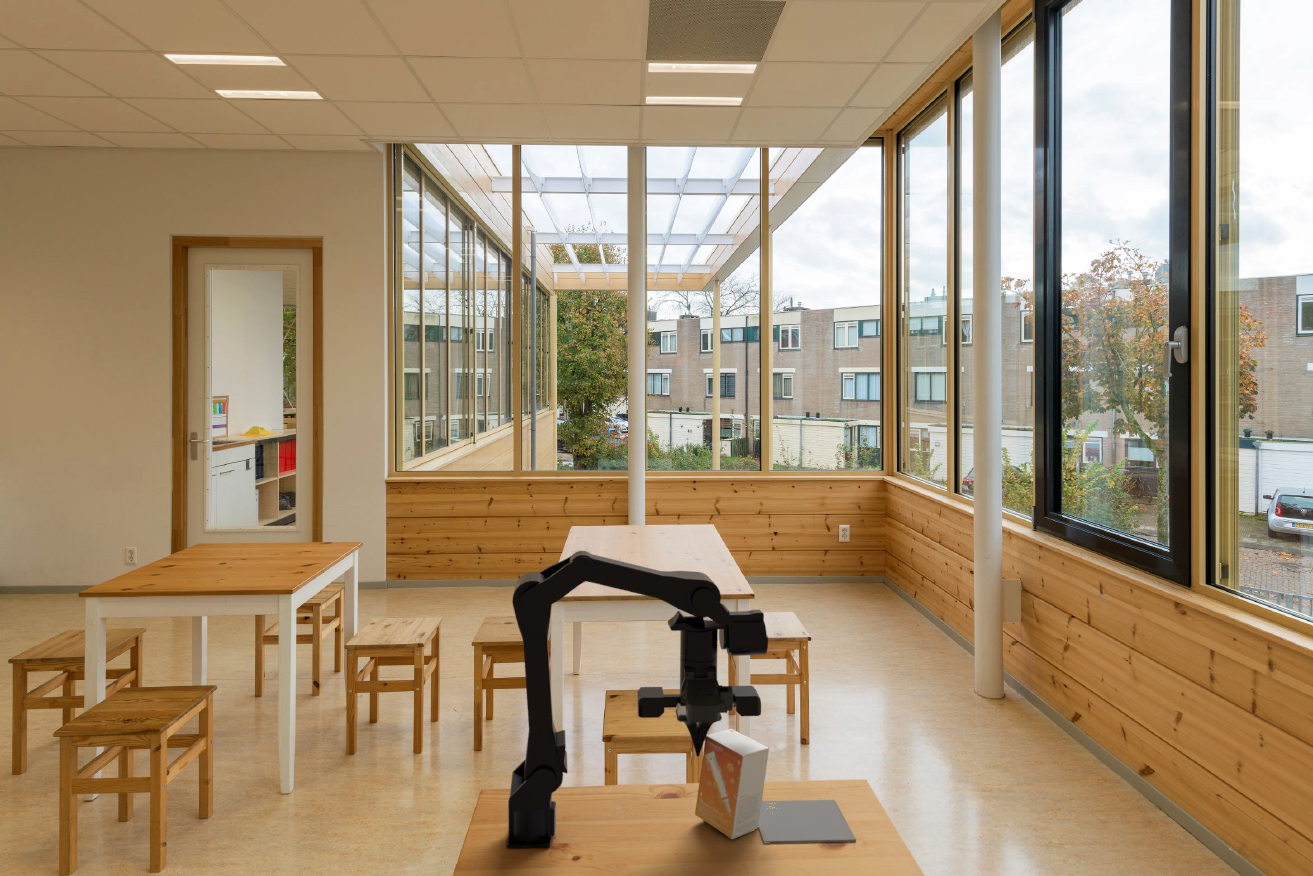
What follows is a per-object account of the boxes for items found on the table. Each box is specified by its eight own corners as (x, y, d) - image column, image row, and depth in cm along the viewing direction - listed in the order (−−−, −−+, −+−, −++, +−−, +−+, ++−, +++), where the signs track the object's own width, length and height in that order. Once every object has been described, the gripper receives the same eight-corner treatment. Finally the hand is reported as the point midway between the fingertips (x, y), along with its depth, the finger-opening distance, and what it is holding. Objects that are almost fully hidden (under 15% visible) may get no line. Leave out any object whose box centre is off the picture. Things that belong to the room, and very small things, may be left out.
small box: (693, 815, 125) (704, 734, 125) (721, 806, 130) (731, 727, 129) (731, 840, 119) (743, 755, 119) (759, 829, 124) (770, 747, 123)
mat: (763, 843, 120) (763, 841, 120) (750, 803, 132) (750, 801, 132) (856, 841, 120) (856, 839, 120) (834, 801, 132) (834, 799, 132)
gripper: (639, 675, 115) (639, 781, 116) (768, 674, 116) (767, 779, 117) (637, 650, 126) (636, 747, 127) (755, 649, 127) (753, 745, 128)
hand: (697, 755), depth 124 cm, fingers closed
